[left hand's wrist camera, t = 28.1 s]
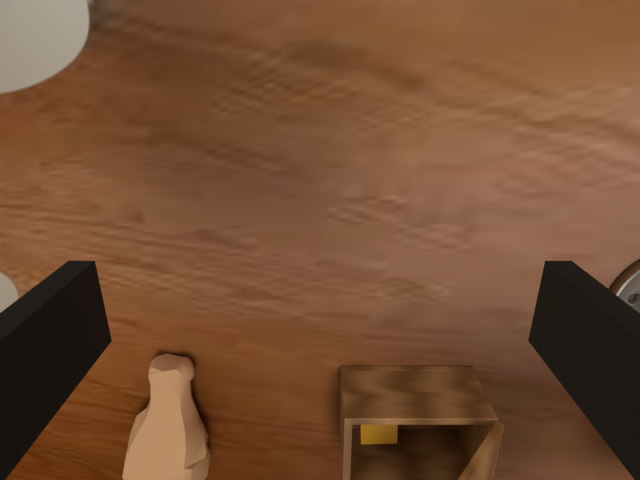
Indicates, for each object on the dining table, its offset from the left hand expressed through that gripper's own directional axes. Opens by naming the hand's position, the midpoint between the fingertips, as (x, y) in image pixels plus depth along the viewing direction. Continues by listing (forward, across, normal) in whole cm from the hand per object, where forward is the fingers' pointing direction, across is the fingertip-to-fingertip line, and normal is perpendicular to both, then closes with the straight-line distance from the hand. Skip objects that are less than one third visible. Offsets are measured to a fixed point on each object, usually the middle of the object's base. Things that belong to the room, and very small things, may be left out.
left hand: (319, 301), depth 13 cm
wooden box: (+34, +11, -35) cm, 50 cm away
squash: (+34, -19, -36) cm, 54 cm away
